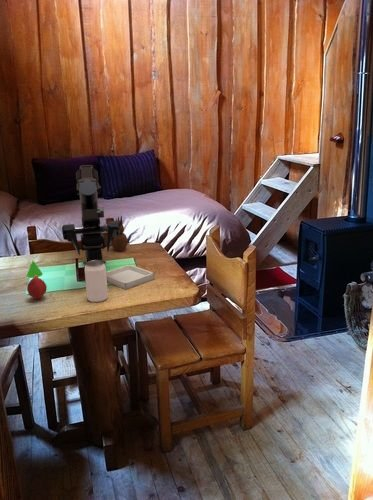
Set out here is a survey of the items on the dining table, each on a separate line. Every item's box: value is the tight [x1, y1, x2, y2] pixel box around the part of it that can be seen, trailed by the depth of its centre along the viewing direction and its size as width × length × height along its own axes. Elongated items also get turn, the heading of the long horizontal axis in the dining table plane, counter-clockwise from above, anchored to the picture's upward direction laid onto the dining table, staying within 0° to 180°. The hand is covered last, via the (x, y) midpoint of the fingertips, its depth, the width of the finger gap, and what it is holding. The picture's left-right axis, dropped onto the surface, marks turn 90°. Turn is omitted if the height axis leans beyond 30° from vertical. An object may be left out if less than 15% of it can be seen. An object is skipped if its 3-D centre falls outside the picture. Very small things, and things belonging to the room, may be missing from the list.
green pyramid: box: [25, 260, 44, 279], centre depth 167 cm, size 6×6×6 cm
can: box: [84, 260, 109, 303], centre depth 144 cm, size 6×6×12 cm
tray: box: [106, 263, 156, 291], centre depth 161 cm, size 14×13×2 cm
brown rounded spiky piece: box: [111, 215, 128, 252], centre depth 192 cm, size 7×6×15 cm
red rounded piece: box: [26, 275, 48, 300], centre depth 146 cm, size 6×6×8 cm
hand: (93, 252), depth 149 cm, fingers open, 9 cm apart
